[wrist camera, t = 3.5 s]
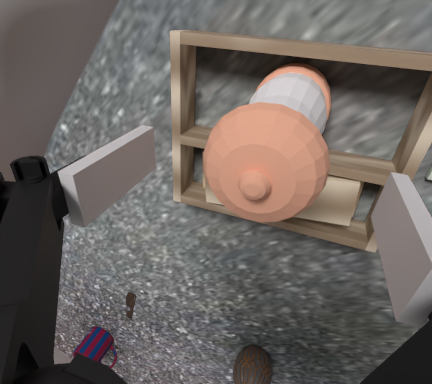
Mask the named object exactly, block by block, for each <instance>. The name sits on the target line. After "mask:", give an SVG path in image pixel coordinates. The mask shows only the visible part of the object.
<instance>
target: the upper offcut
mask: <svg viewBox="0 0 432 384" xmlns="http://www.w3.org/2000/svg"><path fill="white" fill-rule="evenodd" d="M359 188H360V181H359V180H355V179H350V178H345V177H340V176H335V175H330V174H328V178H327V182H326V186H325V187H324V189H323V190H322V191H321V193H320V194H319V196H318V197H317V199H316V200H315V201H314V203H313V204H312V206H310V207H309V208H307V209H306V210H305V211H303V212H302V213H300V214H299V215H298V216H295V217H298V218H304V219H310V220H316V221H322V222H328V223H333V224H339V225H345V226H349V225H350V221H351V217H352V214H353V210H354V206H355V202H356V199H357V195H358V191H359ZM205 190H206V202H208V203H214V204H220V205H223V204H222V203H220V202H219V200H218V199H217V197H216V196H215V194H214V193H213V191H212V190H211V188H210V187H209V185H208V182H207V178H206V175H205Z"/></svg>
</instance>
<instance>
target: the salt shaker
mask: <svg viewBox="0 0 432 384" xmlns="http://www.w3.org/2000/svg"><path fill="white" fill-rule="evenodd" d="M330 109H331V94H330V86H329V84H328V82H327V80H326V78H325V76H324V75H323V74H322V73H321V72H320V71H319V70H318V69H317V68H315V67H313V66H310V65H308V64H306V63H290V64H286V65H282V66H280V67H279V68H277V69H276V70H274V71H273V72H271V73H270V74H269V75H268V76H267V77H265V79H264V80H263V81H262V82H261V84H260V85H259V86H258V87H257V89H256V92H255V94H254V95H253V96H252V97H251V100H250V102H249V104H248V105H244V106H239V107H238V108H236V109H234V110H233V111H231V112H229V113H228V114H226V115H225V116H223V117H222V118H221V119H220V120H219V122H218V123H217V124H216V125H215V127H214V128H213V129H212V130H211V132H210V135H209V138H208V141H207V144H206V147H205V150H204V172H205V175H206V178H207V182H208V185H209V187H210V188H211V190H212V191H213V193H214V194H215V196H216V197H217V199H218V200H219V202H220V203H222V204H223V205H224V206H225V207H226V208H227V209H229V210H230V211H231V212H233V213H235V214H237V215H239V216H241V217H243V218H245V219H248V220H253V221H257V222H278V221H282V220H286V219H289V218H292V217H295V216H298V215H299V214H300V213H302V212H303V211H305V210H306V209H307V208H309V207H310V206H312V204H313V203H314V201H315V200H316V199H317V197H318V196H319V194H320V193H321V191H322V190H323V189H324V187H325V186H326V182H327V178H328V174H329V170H330V161H329V152H328V147H327V145H326V143H325V141H324V139H323V137H322V133H323V132H324V129H325V125H326V122H327V120H328V118H329V113H330Z"/></svg>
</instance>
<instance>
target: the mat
mask: <svg viewBox="0 0 432 384" xmlns="http://www.w3.org/2000/svg"><path fill="white" fill-rule="evenodd" d="M426 178H427V179H428V180H432V165H431V167H430V169H429V171H428V173H427V175H426Z"/></svg>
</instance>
